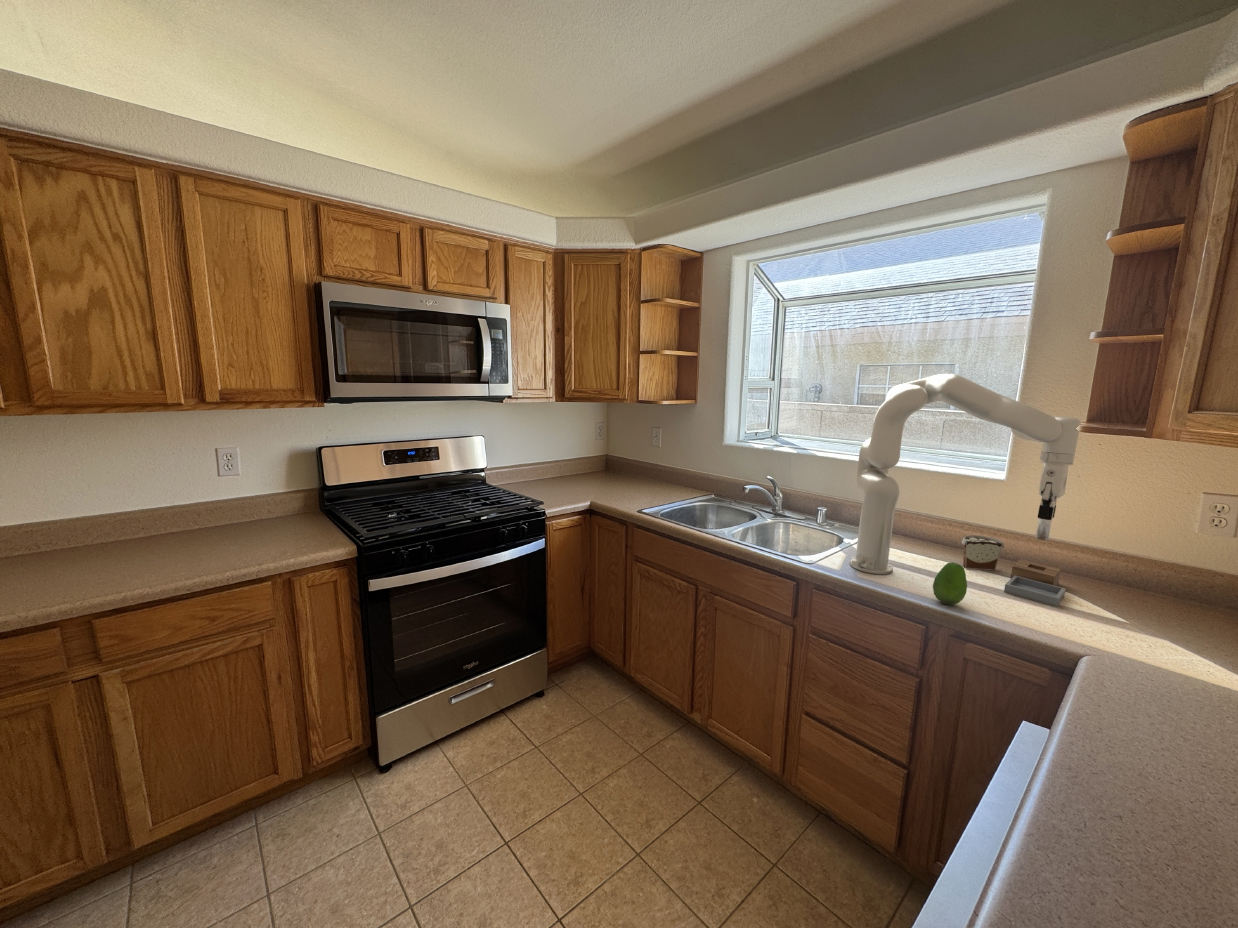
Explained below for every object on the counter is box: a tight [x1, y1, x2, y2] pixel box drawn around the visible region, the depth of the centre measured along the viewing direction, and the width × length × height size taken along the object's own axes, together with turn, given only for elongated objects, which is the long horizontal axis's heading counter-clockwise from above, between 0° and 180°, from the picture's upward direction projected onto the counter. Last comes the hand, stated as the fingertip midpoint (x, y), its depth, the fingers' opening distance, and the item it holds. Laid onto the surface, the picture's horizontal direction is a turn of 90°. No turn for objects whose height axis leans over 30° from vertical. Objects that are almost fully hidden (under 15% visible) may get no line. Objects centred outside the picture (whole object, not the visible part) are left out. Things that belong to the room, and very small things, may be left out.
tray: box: [1003, 575, 1067, 608], centre depth 145 cm, size 11×12×2 cm
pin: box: [1035, 501, 1055, 541], centre depth 150 cm, size 3×3×12 cm
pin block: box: [1010, 558, 1062, 586], centre depth 154 cm, size 10×10×5 cm
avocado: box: [932, 562, 968, 605], centre depth 137 cm, size 8×8×12 cm
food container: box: [961, 534, 1005, 571], centre depth 166 cm, size 12×6×10 cm, turn 84°
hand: (1045, 517), depth 150 cm, fingers closed on pin, 3 cm apart
